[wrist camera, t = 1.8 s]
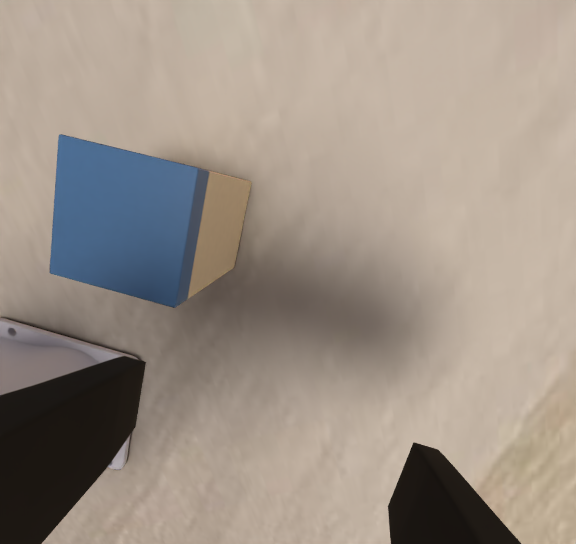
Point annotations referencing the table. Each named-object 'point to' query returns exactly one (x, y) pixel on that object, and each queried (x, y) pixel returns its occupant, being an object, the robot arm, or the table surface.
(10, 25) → the table surface
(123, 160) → the carton
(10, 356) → the robot arm
